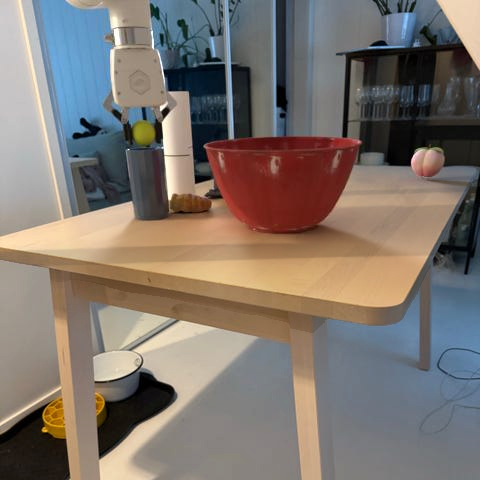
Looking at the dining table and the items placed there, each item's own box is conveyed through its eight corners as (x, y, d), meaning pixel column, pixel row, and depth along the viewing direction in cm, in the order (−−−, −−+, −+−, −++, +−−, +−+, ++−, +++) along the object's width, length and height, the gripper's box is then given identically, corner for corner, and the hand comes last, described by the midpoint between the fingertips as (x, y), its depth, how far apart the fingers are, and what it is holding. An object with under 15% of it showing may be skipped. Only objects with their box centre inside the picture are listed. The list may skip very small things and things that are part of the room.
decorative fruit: (446, 178, 138) (452, 143, 134) (436, 182, 133) (441, 145, 128) (416, 176, 144) (420, 142, 140) (405, 179, 138) (409, 144, 134)
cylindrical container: (200, 196, 122) (194, 91, 111) (186, 201, 116) (178, 91, 106) (177, 195, 125) (169, 92, 114) (163, 200, 119) (152, 92, 108)
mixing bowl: (373, 241, 77) (383, 143, 71) (204, 247, 77) (198, 149, 71) (338, 208, 103) (342, 134, 96) (211, 212, 103) (207, 138, 96)
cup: (137, 221, 96) (128, 151, 91) (132, 214, 103) (124, 148, 97) (172, 218, 99) (166, 148, 93) (166, 211, 105) (159, 146, 99)
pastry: (213, 207, 109) (212, 190, 107) (210, 213, 102) (209, 195, 101) (174, 207, 109) (173, 191, 108) (168, 213, 103) (167, 196, 101)
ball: (134, 147, 92) (130, 120, 90) (131, 146, 96) (127, 120, 94) (159, 146, 93) (156, 119, 91) (154, 145, 98) (152, 119, 96)
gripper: (87, 38, 81) (103, 147, 89) (181, 39, 86) (189, 142, 94) (85, 44, 88) (100, 145, 95) (173, 44, 93) (181, 141, 100)
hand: (144, 143), depth 95 cm, fingers closed on ball, 5 cm apart
